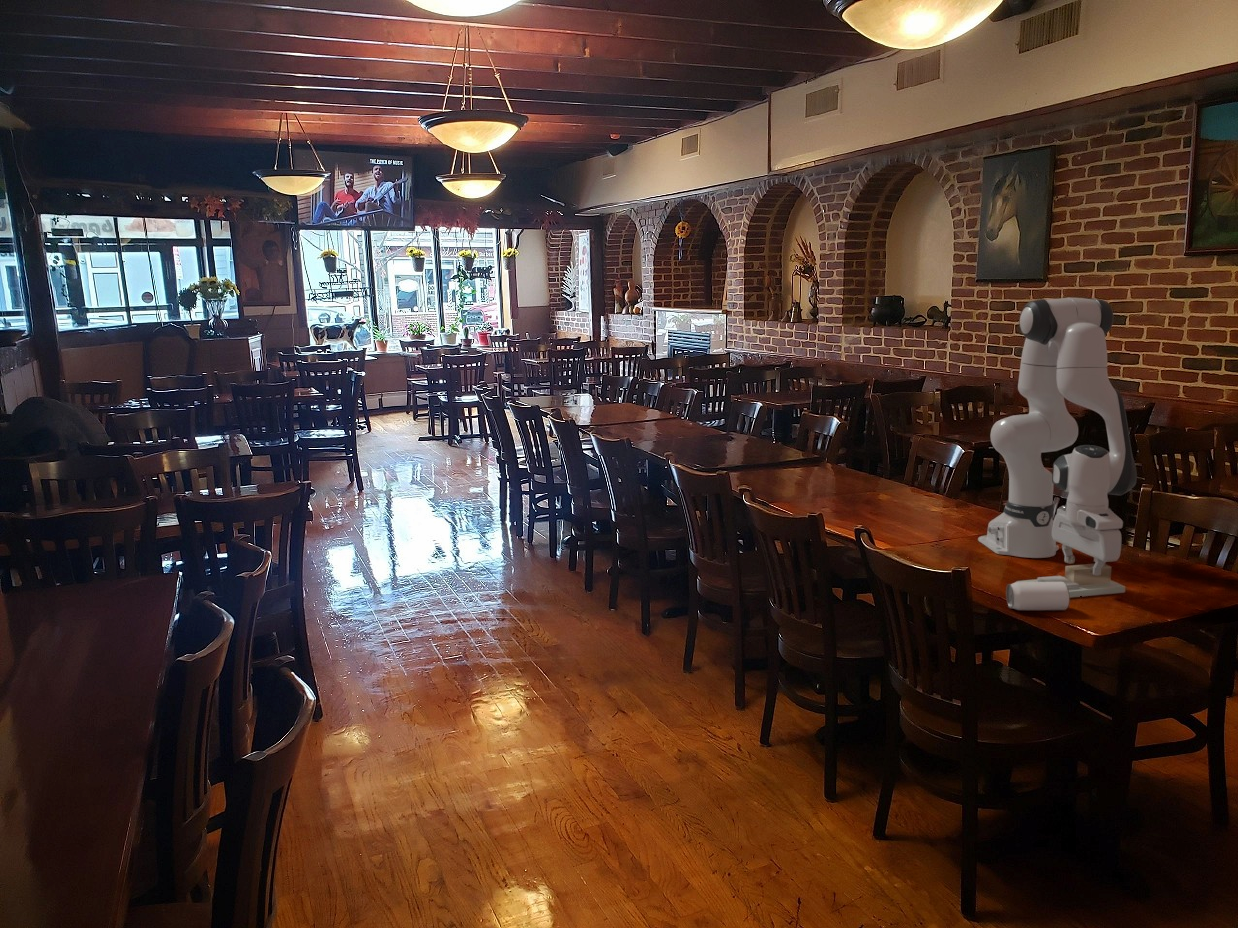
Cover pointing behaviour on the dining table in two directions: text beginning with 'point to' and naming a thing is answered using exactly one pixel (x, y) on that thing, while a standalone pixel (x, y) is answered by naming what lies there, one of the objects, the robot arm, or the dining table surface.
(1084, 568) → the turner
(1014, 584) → the can
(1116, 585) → the rest board
